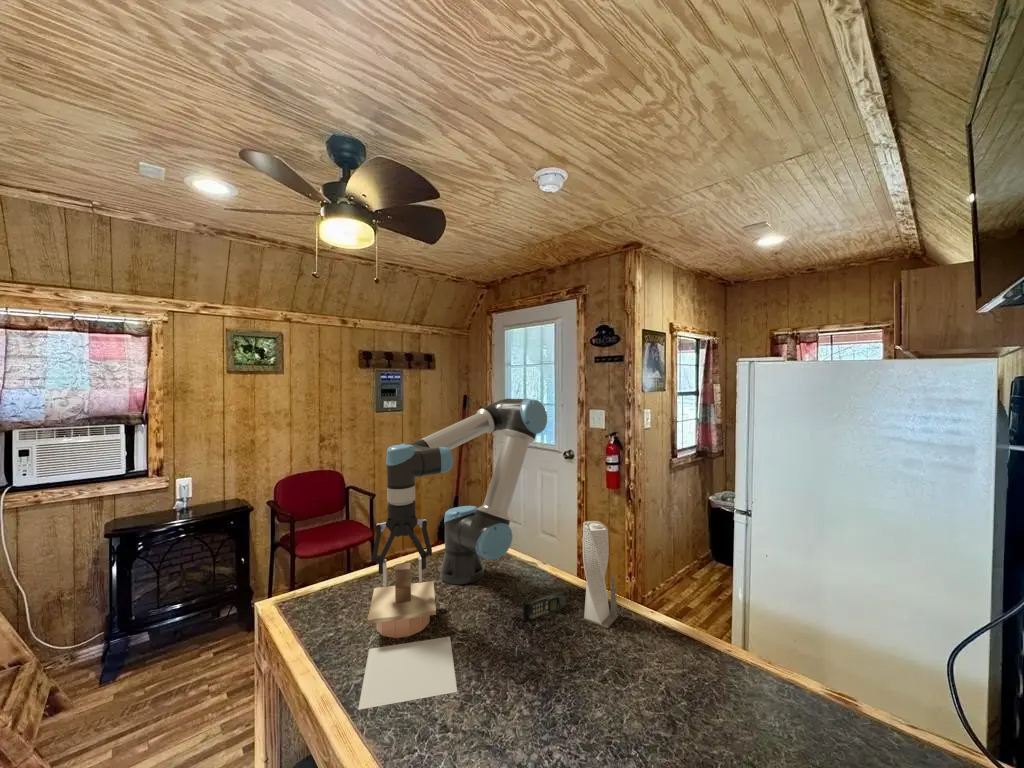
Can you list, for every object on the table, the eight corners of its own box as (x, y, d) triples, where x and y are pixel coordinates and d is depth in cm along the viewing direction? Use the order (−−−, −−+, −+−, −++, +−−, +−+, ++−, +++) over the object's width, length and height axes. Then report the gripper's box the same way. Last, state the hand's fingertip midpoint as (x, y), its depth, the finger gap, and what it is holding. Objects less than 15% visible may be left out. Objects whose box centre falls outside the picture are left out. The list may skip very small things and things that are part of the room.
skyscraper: (605, 630, 110) (603, 525, 110) (578, 620, 115) (576, 519, 115) (618, 616, 117) (616, 516, 117) (591, 607, 122) (590, 512, 122)
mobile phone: (526, 605, 115) (570, 590, 122) (520, 600, 118) (564, 586, 125) (526, 623, 115) (571, 607, 122) (521, 618, 118) (565, 602, 125)
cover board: (433, 584, 125) (432, 551, 125) (435, 614, 109) (435, 576, 109) (374, 591, 122) (373, 557, 122) (367, 624, 105) (366, 584, 105)
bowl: (428, 607, 124) (428, 587, 124) (430, 635, 110) (429, 612, 110) (379, 614, 120) (379, 593, 120) (374, 643, 107) (374, 620, 107)
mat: (450, 638, 108) (450, 636, 108) (457, 694, 89) (457, 691, 89) (369, 651, 104) (369, 648, 104) (358, 712, 84) (358, 709, 84)
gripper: (440, 495, 121) (441, 572, 121) (362, 500, 116) (363, 581, 116) (441, 502, 114) (443, 584, 114) (358, 508, 109) (360, 594, 109)
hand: (402, 582), depth 115 cm, fingers open, 9 cm apart
